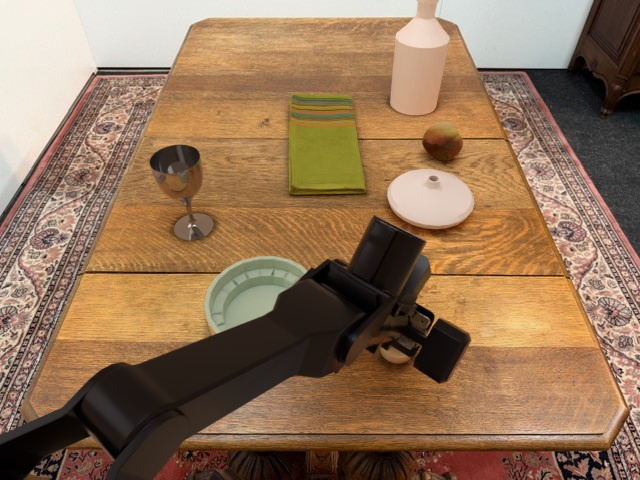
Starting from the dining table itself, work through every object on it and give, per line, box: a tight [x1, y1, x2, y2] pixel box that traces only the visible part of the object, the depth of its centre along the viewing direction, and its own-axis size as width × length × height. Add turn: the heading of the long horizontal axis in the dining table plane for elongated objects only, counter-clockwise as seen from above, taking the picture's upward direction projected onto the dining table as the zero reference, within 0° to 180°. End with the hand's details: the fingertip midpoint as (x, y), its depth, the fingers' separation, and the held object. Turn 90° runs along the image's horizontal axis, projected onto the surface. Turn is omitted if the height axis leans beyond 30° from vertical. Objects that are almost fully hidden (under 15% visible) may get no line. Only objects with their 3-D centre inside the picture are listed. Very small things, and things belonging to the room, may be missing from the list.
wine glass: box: [149, 144, 215, 241], centre depth 81 cm, size 8×8×15 cm
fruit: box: [421, 120, 464, 162], centre depth 97 cm, size 8×8×8 cm
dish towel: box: [288, 92, 367, 195], centre depth 103 cm, size 15×36×3 cm, turn 2°
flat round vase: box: [386, 168, 475, 230], centre depth 86 cm, size 16×16×7 cm
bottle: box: [389, 0, 451, 116], centre depth 107 cm, size 12×12×25 cm
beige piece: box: [379, 346, 412, 364], centre depth 62 cm, size 5×5×13 cm
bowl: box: [203, 255, 308, 336], centre depth 70 cm, size 16×16×5 cm
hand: (407, 314), depth 63 cm, fingers closed on beige piece, 2 cm apart
